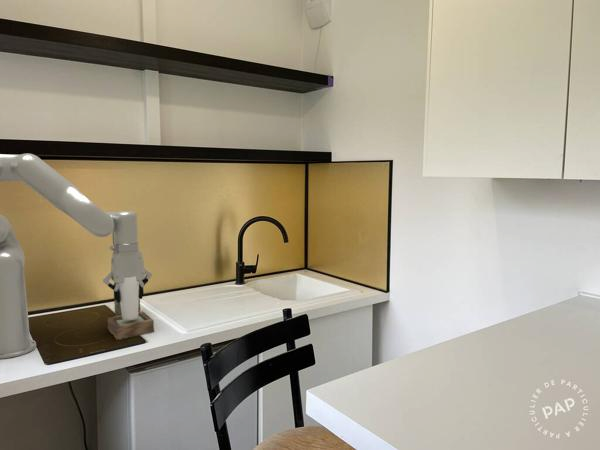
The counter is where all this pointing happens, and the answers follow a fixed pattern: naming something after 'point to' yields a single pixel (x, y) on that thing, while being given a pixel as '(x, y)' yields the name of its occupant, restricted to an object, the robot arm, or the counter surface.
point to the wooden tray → (130, 326)
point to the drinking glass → (129, 298)
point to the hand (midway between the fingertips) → (129, 299)
